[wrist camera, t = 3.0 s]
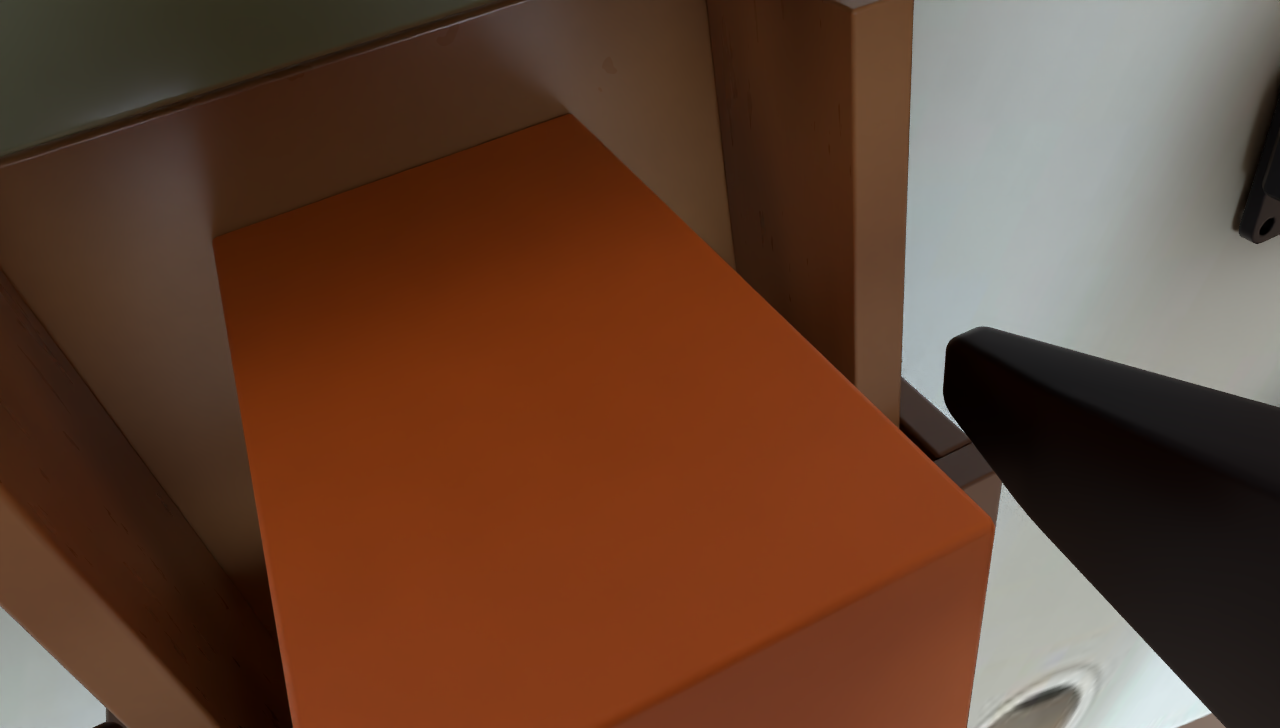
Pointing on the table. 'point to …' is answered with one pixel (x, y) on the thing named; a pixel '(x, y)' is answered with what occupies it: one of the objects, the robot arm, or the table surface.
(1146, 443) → the robot arm
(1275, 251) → the table surface
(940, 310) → the table surface
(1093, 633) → the table surface
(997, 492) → the cabinet
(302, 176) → the drawer
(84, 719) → the table surface
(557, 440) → the orange rectangular block
